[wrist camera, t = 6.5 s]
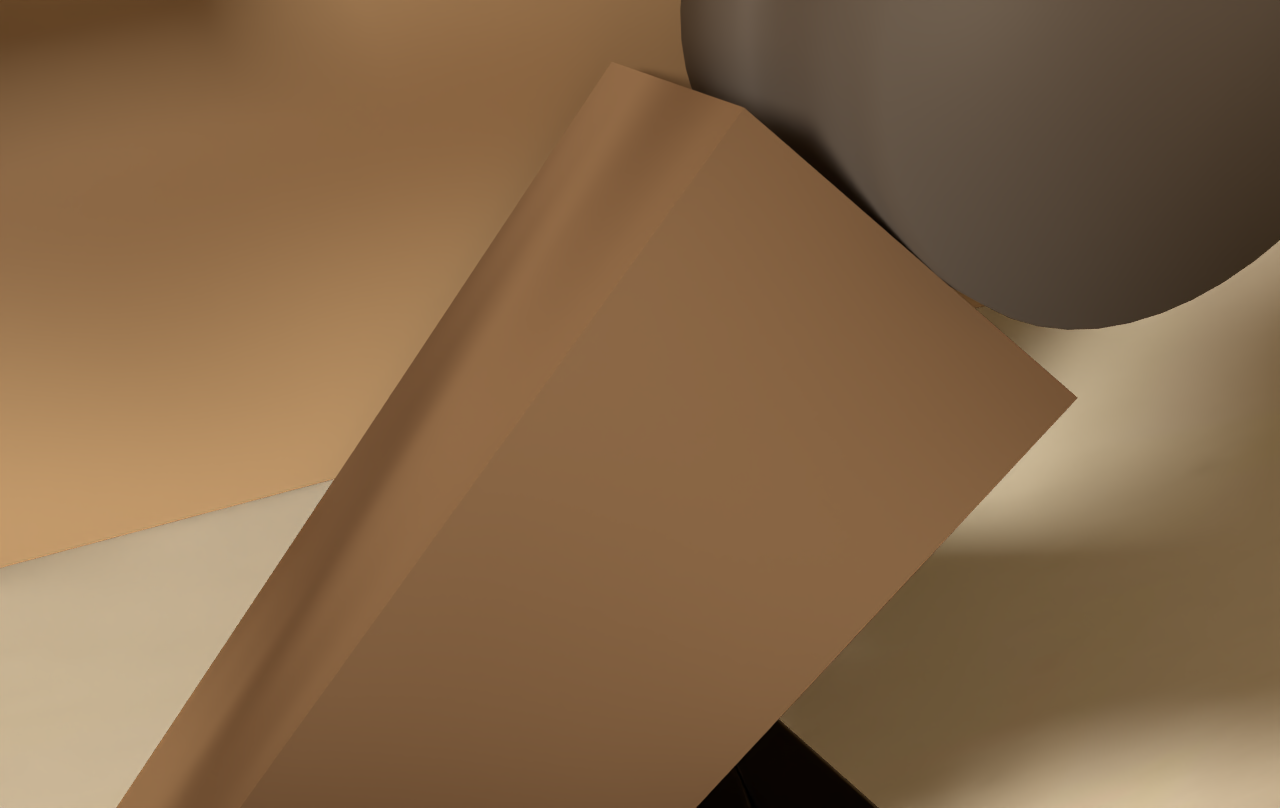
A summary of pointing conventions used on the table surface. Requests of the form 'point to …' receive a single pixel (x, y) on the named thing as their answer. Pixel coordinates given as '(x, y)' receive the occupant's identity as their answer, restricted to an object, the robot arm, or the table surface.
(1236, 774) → the table surface
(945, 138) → the leg
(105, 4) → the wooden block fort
